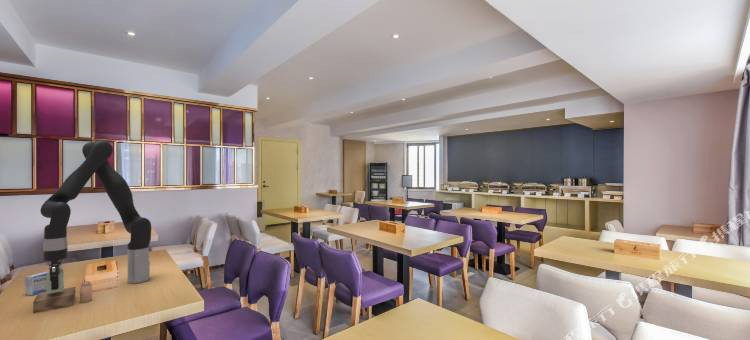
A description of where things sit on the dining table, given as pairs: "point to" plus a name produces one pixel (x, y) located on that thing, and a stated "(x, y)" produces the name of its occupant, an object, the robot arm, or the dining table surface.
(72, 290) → the walnut block
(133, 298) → the dining table surface
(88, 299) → the terracotta shaker
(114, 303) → the dining table surface
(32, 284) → the medicine box
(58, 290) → the green block
